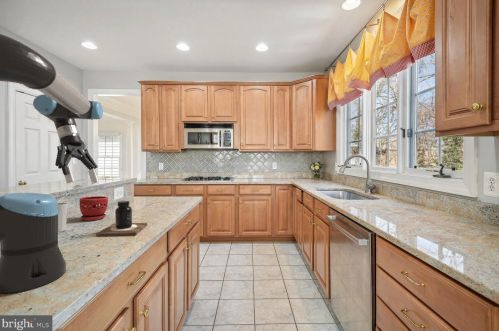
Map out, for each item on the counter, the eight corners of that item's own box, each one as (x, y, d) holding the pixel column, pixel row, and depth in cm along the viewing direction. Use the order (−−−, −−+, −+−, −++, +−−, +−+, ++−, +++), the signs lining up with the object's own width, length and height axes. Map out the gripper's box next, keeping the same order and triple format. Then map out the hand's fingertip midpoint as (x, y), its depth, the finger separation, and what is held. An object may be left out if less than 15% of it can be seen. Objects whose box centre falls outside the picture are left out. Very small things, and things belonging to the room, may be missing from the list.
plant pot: (103, 221, 127) (103, 198, 126) (75, 222, 123) (75, 199, 123) (111, 215, 139) (110, 195, 139) (85, 216, 136) (85, 195, 136)
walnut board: (135, 235, 103) (135, 232, 103) (96, 236, 101) (96, 233, 101) (147, 225, 119) (147, 222, 119) (113, 226, 117) (113, 223, 117)
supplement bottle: (129, 224, 115) (129, 199, 115) (134, 227, 110) (134, 201, 110) (113, 227, 110) (113, 201, 110) (117, 230, 105) (117, 203, 105)
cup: (55, 232, 106) (55, 206, 106) (41, 231, 108) (41, 205, 107) (72, 227, 114) (72, 202, 114) (58, 226, 115) (58, 202, 115)
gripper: (84, 145, 118) (96, 185, 115) (34, 135, 93) (49, 185, 90) (97, 139, 117) (110, 179, 115) (51, 127, 92) (66, 178, 90)
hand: (83, 182), depth 103 cm, fingers open, 13 cm apart
